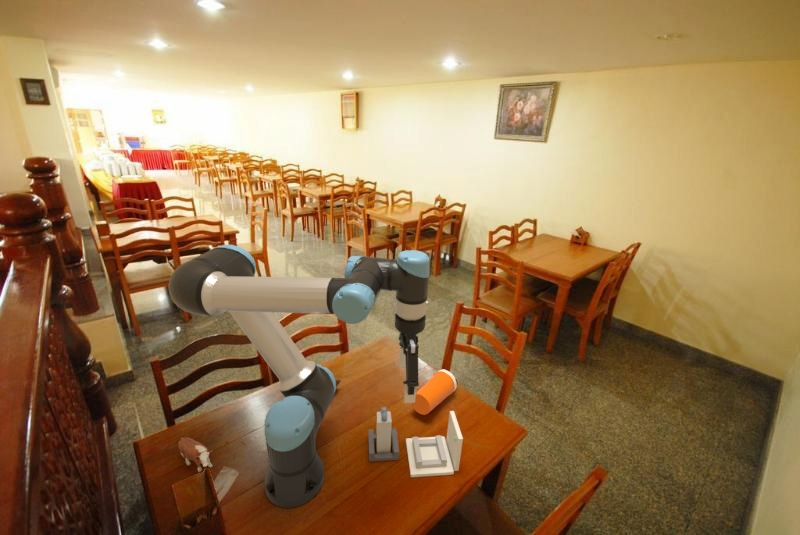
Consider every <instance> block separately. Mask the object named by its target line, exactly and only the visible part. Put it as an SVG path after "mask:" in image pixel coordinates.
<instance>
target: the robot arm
mask: <svg viewBox="0 0 800 535" xmlns="http://www.w3.org/2000/svg"><path fill="white" fill-rule="evenodd" d="M430 262H431V260H430V257H429V256H428V254H427V253H425V252H424V251H420V250H417V249H416V250H415V249H411V250H408V249H407V250H403V251H401V252H399V253H398V255H397V258H393V259H392V258H382V257H373V256H367V255H351V256H349V258H348V259H347V260H346V264H345V267H344V277H311V276H310V277H307V276H306V277H305V276H303V277H299V276H298V277H297V276H296V277H295V276H287V277H286V276H255V275H256V271H257V270H256V269H257V268H256V267H257V265H256V264H257V263H256V261H255V259H254V257H253V256H252V255H251V253H250V252H249V251H248V250H246V249H245V248H243V247H241V246H238V245H234V244H223V245H219V246H217V247H214V248H212V249H209V250H208V251H206V252H204V253H202V254H200V255H199V256H195V257H193V258H192V259H190V260H188V261H185V262H184V263H182V264H180V265H179V266H178V267H176V269H175V270H173V272H172V274H170V277H169V282H168V285H167V286H168V294H169V296H170V299H171V301H172V302H173V303H174V304H175V305H176V307H178V308H179V309H181V310H182V311H184V312H186V313H189V314H193V315H198V316H220V315H222V314H224V313H225V312H228V313H229V314H230V316H232V318H233V319H234V320H235V322H236V324H238V326H239V327H240V330H242V331H243V333H244V335H245V336H246V337H247V338H248V339H249V341H250V342H251V343H252V345H253V346H254V348H256V351H258V353H259V354H260V356H261V357H262V358H263V360H264V361H265V362H266V364H267V365H268V366H269V368H270V369H271V371H272V372H273V373H274V375H275V376H276V377H277V378H278V381H279V383H278V390H279V391H280V392H281V394H282V395H283V398H282V400H278V401H276V402H274V403H273V405H271V407H270V408H269V410H268V412H266V415H265V419H264V427H263V428H264V431H263V432H264V437H265V442H266V443H265V444H266V448H267V451H266V452H267V456H268V466H267V470H266V473H265V476H264V489H265V494H266V497H267V499H268V500H269V502H270V503H272V504H273V505H275V506H277V507H279V508H284V509H285V508H286V509H291V508H296V507H300V506H303V505H305V504H306V503H308V502H309V501H311V500H312V499H314V497H315V496H317V494H319V491H320V490H321V489H322V487H323V484H324V480H325V467H324V463H323V461H322V459H321V457H320V456H319V454H318V452H317V448H316V446H317V444H316V436H317V433H318V431H319V428H320V426H321V424H322V422H323V420H324V418H325V416H326V414H327V411H328V410H329V407H330V406H331V405H330V404H332V402H333V400H334V397H335V393H336V389H337V387H336V381H335V380H336V378H335V375H334V374H333V372H332V371H331V370H330V369H329V368H328V367H326V366H323V365H322V364H318V363H316V362H315V361H313V360H307V359H306V358H305V356H304V355H303V353H302V352H301V351H300V349H299V348H298V346H297V345H296V343H295V342H294V341H293V339H292V338H291V337H290V335H289V333H287V331H286V329H285V328H284V326H283V325H282V323H280V320H279V319H278V318H277V316H276V315H275V314H274V313H280V314H281V313H282V314H283V313H285V314H287V313H288V314H321V315H322V314H323V315H325V314H326V315H327V314H328V315H331V314H332V315H335V317H337V319H338V320H340V321H342V322H344V323H346V324H349V325H350V324H351V325H356V324H360V323H361V322H362V323H363V321H364V320H366V319H367V318H368V316H369V314H370V313H371V312H372V310H373V309H374V307H375V304H376V301H377V298H378V296H379V295H380V293H381V291H387V292H388V291H389V292H395V304H394V307H395V309H394V311H395V313H394V328H395V329H396V330H397V331H398V332H399V336H398V341H399V350H398V352H399V353H398V368H399V369H405V378H406V379H405V380H404V381H402V383H403V385H404V395H403V396H404V397H403V402H404V403H403V404H412V403H415V397H416V392H417V387H420V386H419V384H420V383H419V348H420V347H419V344H418V342H419V336H418V334H421V333H422V332H424V330H425V328H426V320H427V319H426V313H427V306H428V305H429V303H430V301H428V295H429V294H428V291H429V282H430V274H431V273H430V266H431V264H430Z"/></svg>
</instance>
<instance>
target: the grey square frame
mask: <svg viewBox="0 0 800 535" xmlns="http://www.w3.org/2000/svg"><path fill="white" fill-rule="evenodd" d="M397 430H398V429H397V428H396V427H394V428H392V427H391V447H392V452H390V453H382V454H377V453H375V442H376V433H374V432H375V431H374V429H373V428H372V429H368V461H369V462H379V461H383V462H384V461H393V460H395V461H396V460H398V461H399V460H400V447H399V440H398V431H397Z"/></svg>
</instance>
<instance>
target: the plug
mask: <svg viewBox="0 0 800 535" xmlns="http://www.w3.org/2000/svg"><path fill="white" fill-rule="evenodd" d="M387 410H388V409H387V407H386V406H382V407H381V408H380V411H376V426H375V427H376V431H375V432H376V433H375V434H376V441H375V442H376V443H375V445H376V446H375V448H376V450H375V451H376V454H382V453H391V447H392V440H391V429H392V412H391V411H387Z"/></svg>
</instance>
